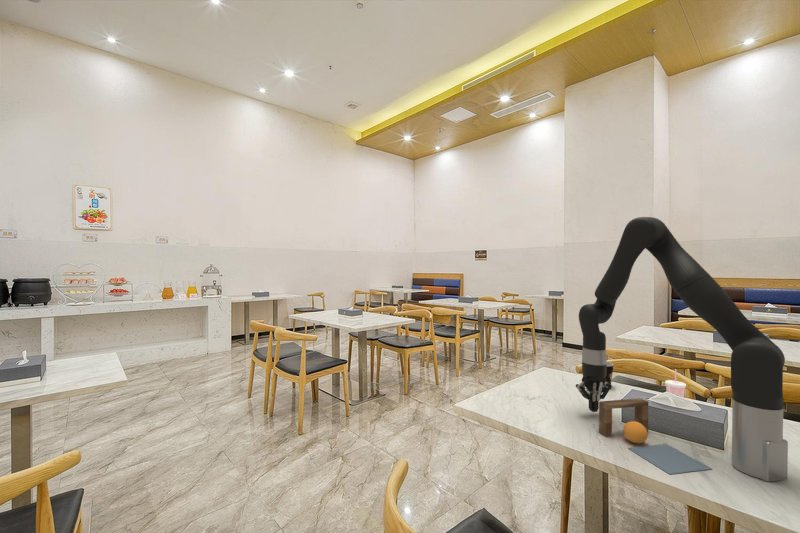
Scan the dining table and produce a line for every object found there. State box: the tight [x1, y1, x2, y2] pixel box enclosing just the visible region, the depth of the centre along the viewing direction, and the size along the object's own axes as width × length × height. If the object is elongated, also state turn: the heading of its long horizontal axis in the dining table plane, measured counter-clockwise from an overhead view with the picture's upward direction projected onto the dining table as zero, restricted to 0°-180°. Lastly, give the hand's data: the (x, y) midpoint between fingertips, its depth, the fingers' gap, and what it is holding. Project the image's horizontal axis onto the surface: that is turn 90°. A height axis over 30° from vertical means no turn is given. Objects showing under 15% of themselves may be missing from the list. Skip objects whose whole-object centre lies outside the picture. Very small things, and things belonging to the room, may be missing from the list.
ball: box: [622, 420, 649, 444], centre depth 106 cm, size 6×6×6 cm
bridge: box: [598, 397, 649, 438], centre depth 112 cm, size 3×15×10 cm, turn 101°
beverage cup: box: [664, 368, 687, 399], centre depth 133 cm, size 6×6×14 cm
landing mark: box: [627, 443, 713, 476], centre depth 97 cm, size 13×13×1 cm
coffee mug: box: [605, 361, 615, 385], centre depth 154 cm, size 12×9×10 cm
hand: (593, 411), depth 125 cm, fingers closed
